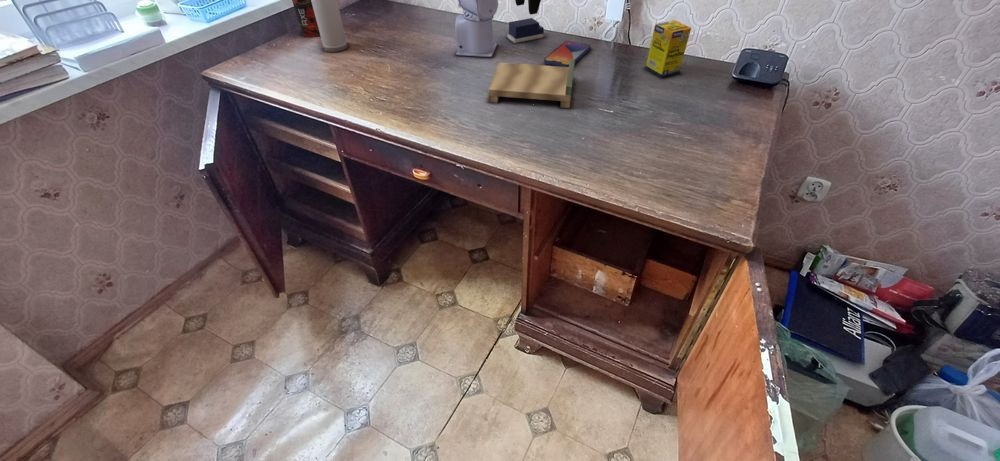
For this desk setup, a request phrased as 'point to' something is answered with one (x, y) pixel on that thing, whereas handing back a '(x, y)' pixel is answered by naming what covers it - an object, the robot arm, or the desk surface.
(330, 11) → the travel mug
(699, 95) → the desk surface
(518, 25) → the white-based navy block
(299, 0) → the deodorant
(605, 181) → the desk surface
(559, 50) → the smartphone
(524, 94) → the shelf
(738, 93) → the desk surface
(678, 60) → the supplement box
